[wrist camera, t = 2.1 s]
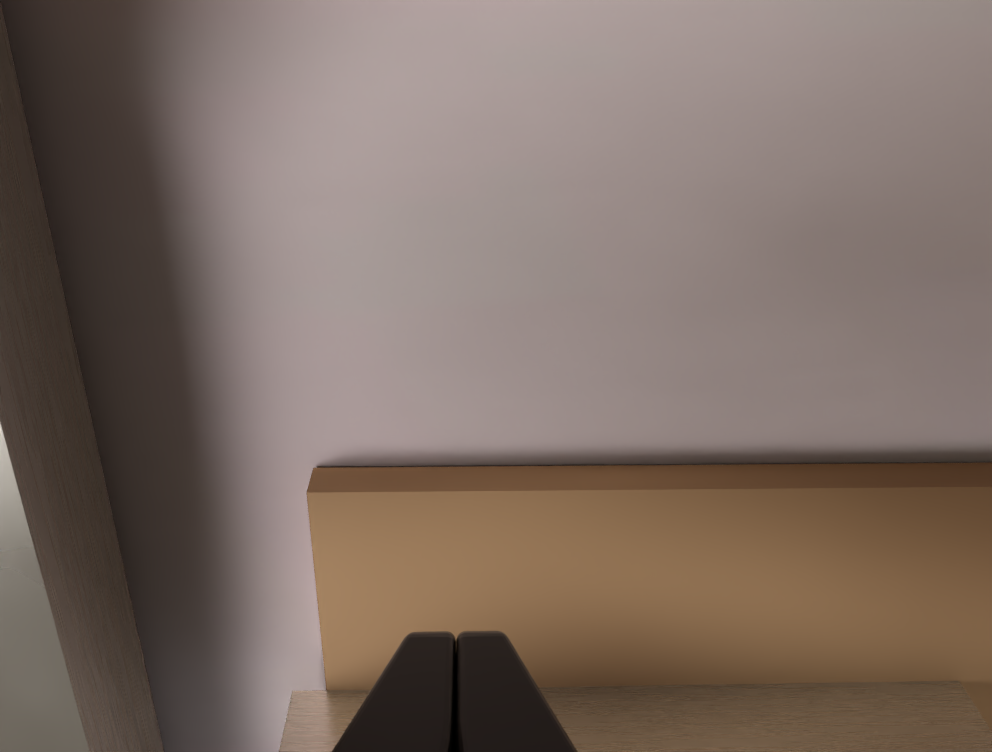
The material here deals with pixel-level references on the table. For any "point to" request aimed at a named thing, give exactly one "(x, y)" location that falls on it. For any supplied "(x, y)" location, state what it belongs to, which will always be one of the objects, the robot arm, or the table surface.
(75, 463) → the lever
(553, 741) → the robot arm
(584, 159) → the table surface
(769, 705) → the stone-textured block
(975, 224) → the table surface
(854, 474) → the plate
